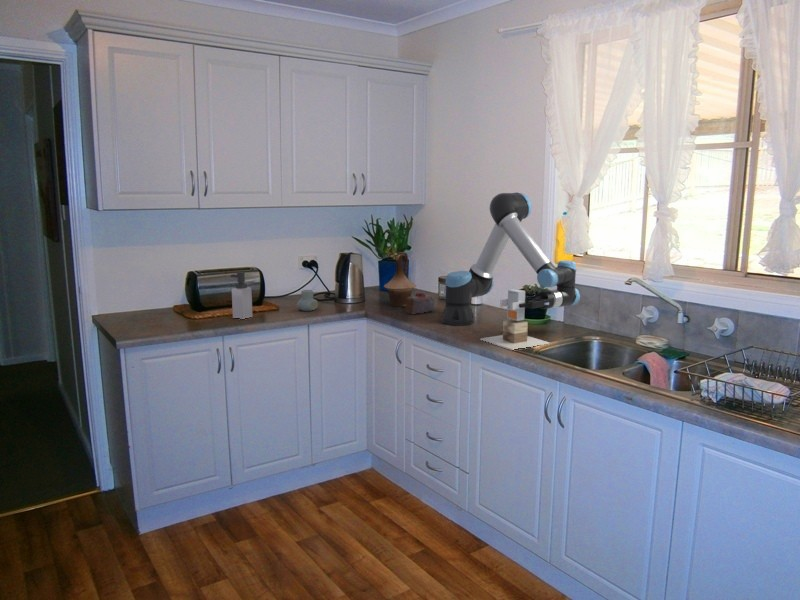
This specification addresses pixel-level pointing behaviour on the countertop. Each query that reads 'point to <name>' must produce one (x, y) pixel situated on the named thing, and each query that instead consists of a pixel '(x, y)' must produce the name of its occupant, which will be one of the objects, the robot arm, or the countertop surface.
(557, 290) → the robot arm
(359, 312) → the countertop surface
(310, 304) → the air freshener
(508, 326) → the upper block
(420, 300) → the food item
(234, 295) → the soap dispenser
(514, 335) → the lower block
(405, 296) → the brown vase
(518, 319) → the skincare box
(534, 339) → the plate
